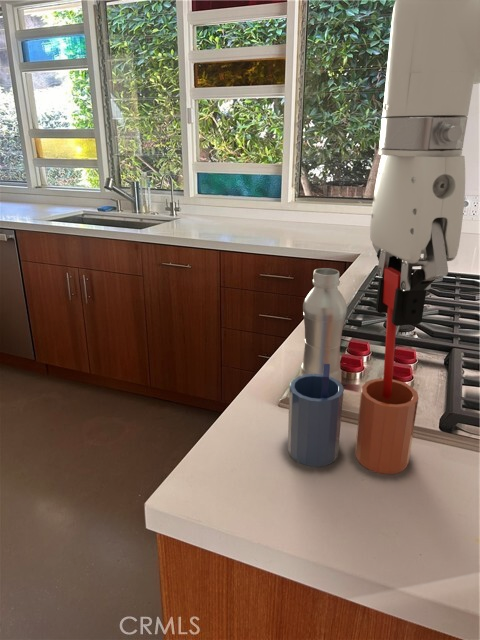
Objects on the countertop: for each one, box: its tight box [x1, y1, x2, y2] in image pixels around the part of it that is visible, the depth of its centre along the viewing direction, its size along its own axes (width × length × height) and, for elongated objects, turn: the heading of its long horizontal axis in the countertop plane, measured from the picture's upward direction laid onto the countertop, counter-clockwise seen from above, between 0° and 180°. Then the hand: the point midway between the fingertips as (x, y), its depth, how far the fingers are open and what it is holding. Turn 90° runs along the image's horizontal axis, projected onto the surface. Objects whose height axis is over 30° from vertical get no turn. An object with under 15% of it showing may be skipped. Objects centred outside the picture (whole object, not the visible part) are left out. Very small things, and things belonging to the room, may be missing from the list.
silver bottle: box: [298, 267, 348, 384], centre depth 70 cm, size 6×7×20 cm
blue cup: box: [287, 374, 344, 468], centre depth 58 cm, size 6×6×10 cm
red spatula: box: [383, 267, 401, 399], centre depth 52 cm, size 1×3×16 cm, turn 10°
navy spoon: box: [321, 364, 330, 398], centre depth 57 cm, size 1×2×13 cm, turn 168°
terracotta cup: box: [354, 377, 420, 475], centre depth 57 cm, size 6×6×10 cm
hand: (397, 316), depth 51 cm, fingers closed on red spatula, 3 cm apart
